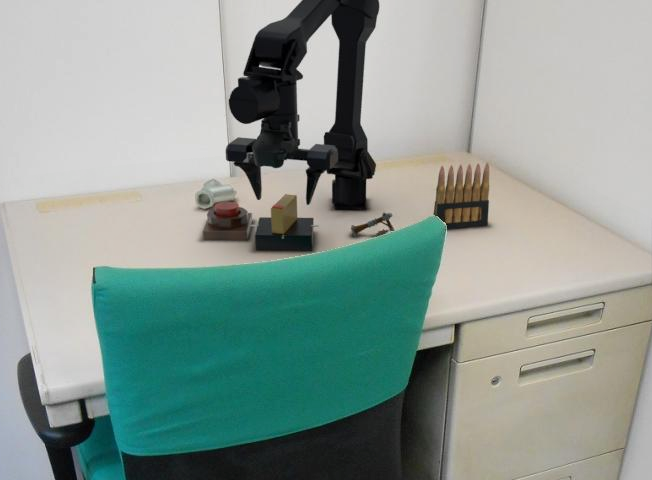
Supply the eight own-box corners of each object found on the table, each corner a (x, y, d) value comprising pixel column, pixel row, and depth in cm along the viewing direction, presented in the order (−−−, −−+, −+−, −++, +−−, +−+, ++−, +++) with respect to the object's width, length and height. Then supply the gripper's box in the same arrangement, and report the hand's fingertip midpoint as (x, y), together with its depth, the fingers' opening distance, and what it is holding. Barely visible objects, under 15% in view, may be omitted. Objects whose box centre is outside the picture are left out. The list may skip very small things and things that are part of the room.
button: (240, 210, 157) (240, 201, 156) (238, 218, 154) (237, 209, 153) (217, 210, 157) (216, 201, 156) (214, 218, 153) (213, 209, 153)
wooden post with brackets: (399, 233, 154) (390, 211, 152) (359, 248, 156) (350, 227, 154) (400, 230, 156) (390, 208, 154) (360, 245, 158) (351, 224, 156)
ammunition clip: (484, 222, 163) (490, 161, 156) (487, 226, 161) (493, 164, 155) (432, 226, 160) (435, 164, 154) (435, 230, 159) (439, 167, 152)
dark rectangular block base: (319, 230, 158) (319, 213, 156) (318, 254, 148) (317, 237, 146) (255, 229, 158) (254, 213, 156) (248, 254, 147) (247, 237, 146)
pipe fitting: (237, 199, 173) (205, 195, 173) (238, 181, 171) (205, 177, 171) (228, 212, 166) (195, 208, 166) (228, 193, 164) (195, 189, 164)
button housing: (252, 221, 161) (251, 203, 159) (247, 240, 153) (246, 222, 151) (210, 220, 161) (209, 203, 159) (203, 240, 153) (201, 221, 151)
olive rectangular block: (286, 217, 155) (285, 192, 152) (297, 218, 154) (296, 193, 152) (271, 232, 148) (270, 207, 145) (283, 234, 148) (282, 208, 145)
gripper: (209, 118, 135) (217, 211, 144) (320, 127, 132) (321, 222, 140) (234, 103, 145) (240, 191, 153) (338, 111, 141) (338, 201, 149)
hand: (283, 201), depth 149 cm, fingers open, 9 cm apart
